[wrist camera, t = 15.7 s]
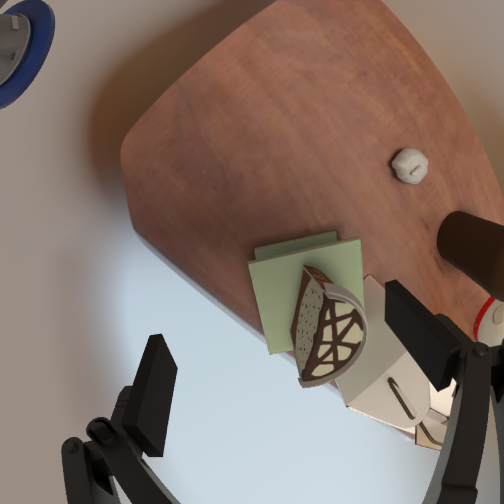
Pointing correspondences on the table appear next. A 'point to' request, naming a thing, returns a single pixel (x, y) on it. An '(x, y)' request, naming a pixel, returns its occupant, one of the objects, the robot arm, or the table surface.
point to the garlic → (410, 165)
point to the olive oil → (475, 250)
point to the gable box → (394, 380)
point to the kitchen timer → (490, 323)
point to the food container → (325, 329)
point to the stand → (288, 276)
